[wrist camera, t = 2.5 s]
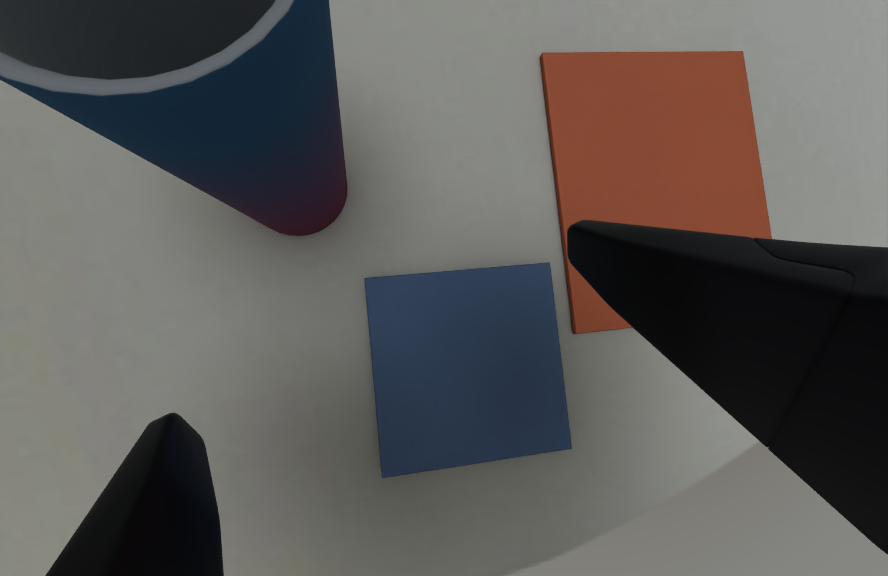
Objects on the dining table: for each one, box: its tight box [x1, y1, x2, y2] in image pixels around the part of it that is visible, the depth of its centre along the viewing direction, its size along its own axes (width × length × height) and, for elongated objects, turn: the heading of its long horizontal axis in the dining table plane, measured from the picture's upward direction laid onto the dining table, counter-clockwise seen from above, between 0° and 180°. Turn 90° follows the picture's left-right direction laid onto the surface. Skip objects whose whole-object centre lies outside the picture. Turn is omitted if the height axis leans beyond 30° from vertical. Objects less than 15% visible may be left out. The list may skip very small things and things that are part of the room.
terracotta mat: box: [540, 51, 772, 334], centre depth 24 cm, size 16×13×1 cm
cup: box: [0, 0, 347, 236], centre depth 14 cm, size 7×7×15 cm
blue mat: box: [365, 263, 572, 478], centre depth 22 cm, size 10×10×1 cm
